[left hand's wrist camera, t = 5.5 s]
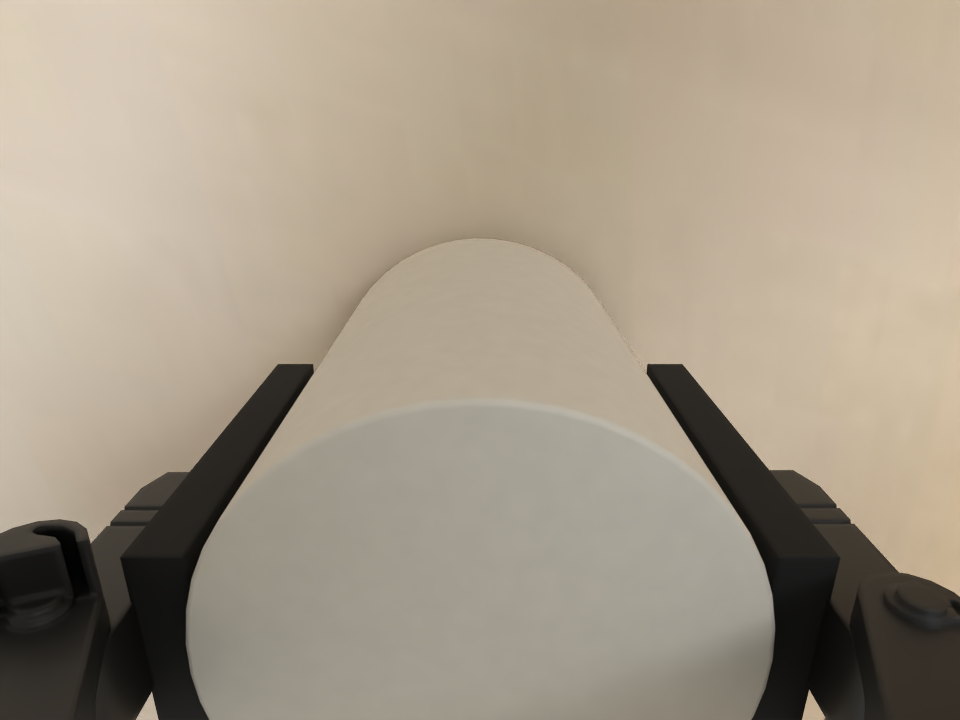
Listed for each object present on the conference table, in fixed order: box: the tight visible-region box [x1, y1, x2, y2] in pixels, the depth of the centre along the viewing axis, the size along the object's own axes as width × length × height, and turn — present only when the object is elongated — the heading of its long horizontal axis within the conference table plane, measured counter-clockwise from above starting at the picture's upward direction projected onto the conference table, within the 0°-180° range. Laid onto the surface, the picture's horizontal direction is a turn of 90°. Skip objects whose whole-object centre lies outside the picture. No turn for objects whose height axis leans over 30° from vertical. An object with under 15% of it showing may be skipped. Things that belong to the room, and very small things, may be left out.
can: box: [186, 238, 775, 720], centre depth 12 cm, size 7×7×10 cm
